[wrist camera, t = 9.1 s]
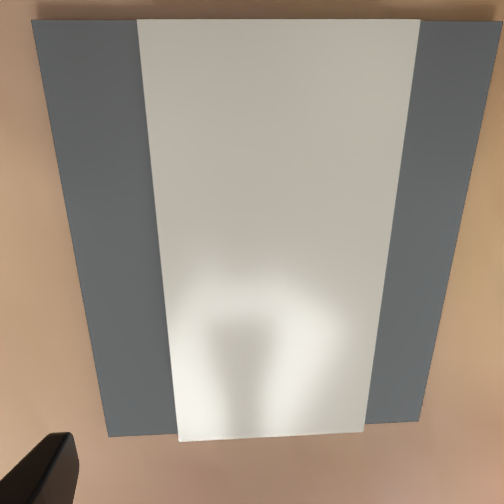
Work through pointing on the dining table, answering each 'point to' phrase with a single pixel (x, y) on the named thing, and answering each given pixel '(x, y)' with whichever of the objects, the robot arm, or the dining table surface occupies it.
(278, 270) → the block
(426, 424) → the dining table surface
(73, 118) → the mat
